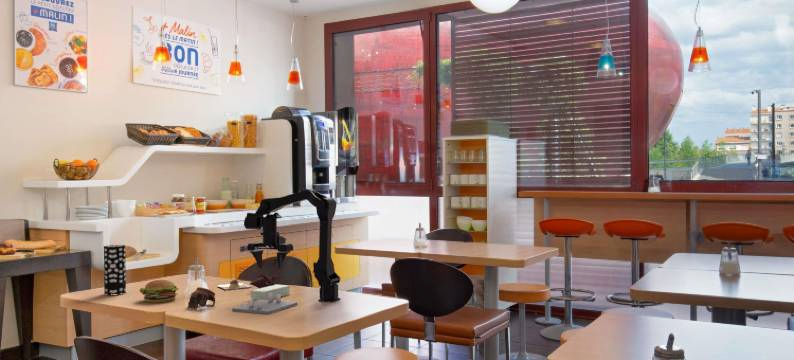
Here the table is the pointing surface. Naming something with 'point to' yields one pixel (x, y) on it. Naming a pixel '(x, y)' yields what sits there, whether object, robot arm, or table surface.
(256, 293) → the shelf board
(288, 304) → the peg plate
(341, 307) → the table surface
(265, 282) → the icecream
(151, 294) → the food
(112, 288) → the white-spotted black cylinder
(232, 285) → the dessert
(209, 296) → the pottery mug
